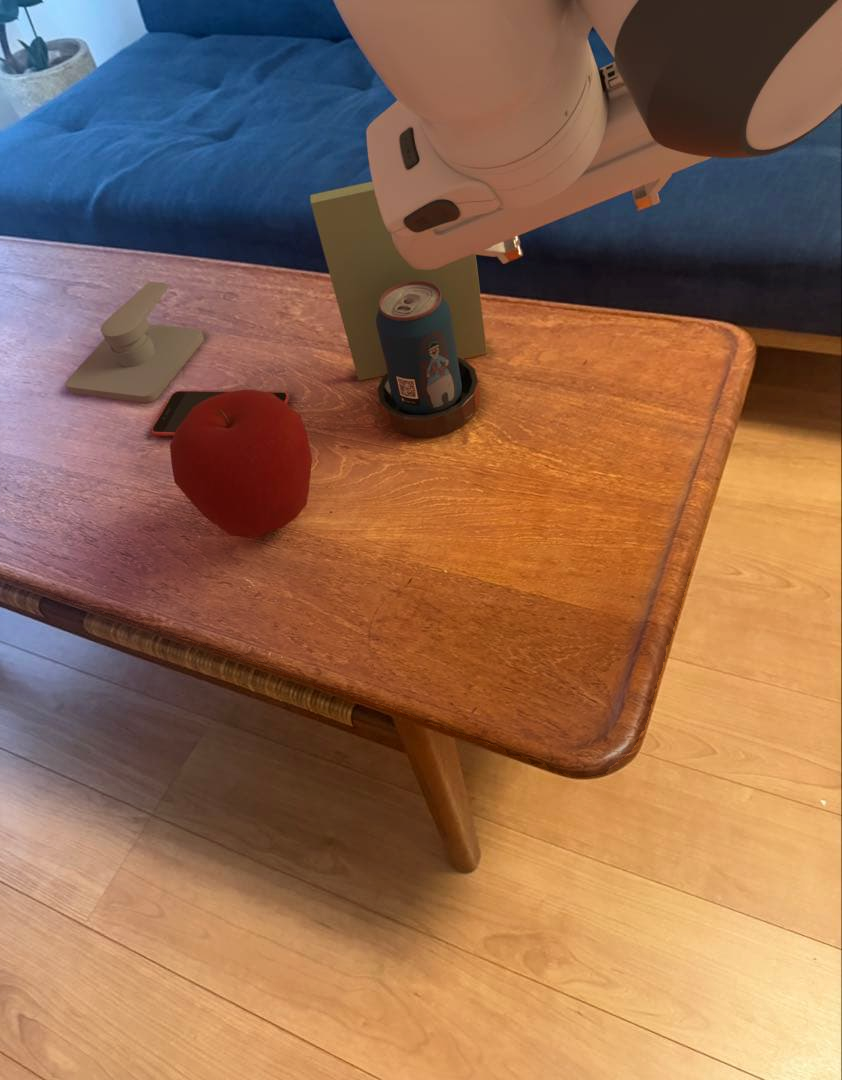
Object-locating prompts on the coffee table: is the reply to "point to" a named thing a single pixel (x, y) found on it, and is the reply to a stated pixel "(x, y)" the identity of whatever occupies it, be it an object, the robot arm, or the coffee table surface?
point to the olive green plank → (385, 276)
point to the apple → (243, 461)
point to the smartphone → (187, 409)
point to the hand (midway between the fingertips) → (576, 224)
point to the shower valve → (135, 353)
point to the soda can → (419, 348)
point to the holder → (438, 421)
